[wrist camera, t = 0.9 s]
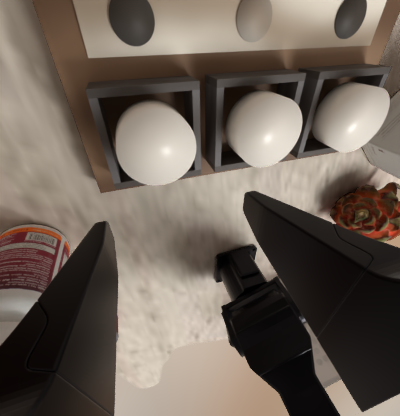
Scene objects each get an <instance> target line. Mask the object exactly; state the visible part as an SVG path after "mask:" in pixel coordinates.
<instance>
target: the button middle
mask: <svg viewBox="0 0 400 416" xmlns="http://www.w3.org/2000/svg"><path fill="white" fill-rule="evenodd" d="M301 129H302V113H301V110H300V108H299V106H298V105H297V103H296V102H294V101H293V100H292V99H290V98H287V97H284V96H281V95H279V94H276V93H273V92H270V91H268V90H255V91H252V92H249V93H247V94H246V95H244V96H243V97H241V98H240V99H239V100H238V101H237V102H236V103H235V105H234V106H233V107H232V109H231V111H230V113H229V115H228V117H227V121H226V126H225V135H226V140H227V142H228V144H229V146H230V147H231V148H232V149H233V150H234V151H235V152H236V153H237V154H238V155H239V156H240V157H241V158H242V159H243V160H244V161H245V162H246V163H247V164H249V165H251V166H253V167H268V166H271V165H273V164H275V163H277V162H279V161H280V160H282V159H283V158H284V157H285V156H286V155H287V154H288V153H289V152H290V151H291V150H292V149H293V147H294V146H295V144H296V142H297V140H298V138H299V136H300V133H301Z"/></svg>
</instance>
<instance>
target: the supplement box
mask: <svg viewBox="0 0 400 416" xmlns="http://www.w3.org/2000/svg"><path fill="white" fill-rule="evenodd" d="M362 148H363V150H364V152H365V154H366V156H367V157H368V159H369V162H370V164H372V165H373V166H375V167H377V168H379V169H381V170H383V171H385V172H387V173H389V174H391V175H393V176H395V177H397V178H399V179H400V91H398V92H397V93H396V94H395V95H394V96H393V97H392V98H391V99H390V105H389V110H388V113H387V116H386V118H385V120H384V122H383V124H382V126H381V127H380V129H379V130H378V132H377V133H376V134H375V135H374V136H373V137H372V138H371V139H370V140H369V141H368V142H367V143H366V144H365V145H363V146H362Z"/></svg>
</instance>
